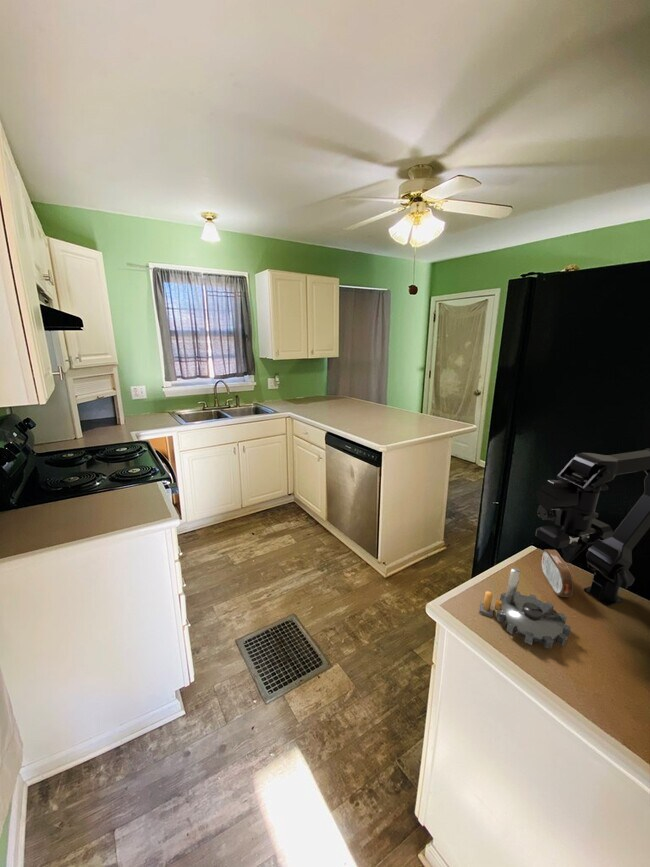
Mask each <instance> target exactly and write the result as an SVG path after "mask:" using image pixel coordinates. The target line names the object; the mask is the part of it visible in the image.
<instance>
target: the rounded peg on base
mask: <svg viewBox="0 0 650 867" xmlns="http://www.w3.org/2000/svg"><path fill="white" fill-rule="evenodd" d="M492 600H493V592H491V591H489V590H485V594H484V599H483V603H482V602H480V603H479V610H478V611H479V612H478V614H481V615H483V616H487V617H490V618H493V615H494V606H492Z"/></svg>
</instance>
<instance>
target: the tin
mask: <svg viewBox="0 0 650 867" xmlns="http://www.w3.org/2000/svg"><path fill="white" fill-rule="evenodd" d="M540 567H541V571H542V574H543V576H544V577H545V579H546V581H547V583H548V584H549V586H550V587H551V589H552V591H553V593H554V594H555V595H556V596H558V597H563V598H564V597H566V598H571V597H572V596H573V593H574V586H575V585H574V579H573V574H572V572H571V569H570V568H569V566H568V565H567V562H565V561H564V558H563V557H561V555H560V553H559V552H558V551H557V550H556V549H549V548H548V549H543V550H542V552H541V560H540Z"/></svg>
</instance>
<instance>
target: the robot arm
mask: <svg viewBox="0 0 650 867" xmlns="http://www.w3.org/2000/svg"><path fill="white" fill-rule="evenodd" d="M637 472H645V474H646V476H645V478H644V479H643V482H644V483H643V484H644V491H643V494H642V495H641V496H640V497H639V498H638V500H637V501H636V503H635V504H634V505H633V506H632V508H631V510H630V511H629V512H628V513H627V515H626V516H625V517H624V519H622V521H621V522H620V524H619V525H618V526H617V527H616V529H615V530H613V528H612V527H611V525H610V524H607V523H605V522H603V521H601V520H599V519H598V518H599V514H600V513H598V512H596V508H597V504H598V500H599V496H600V493H601V492H600V491H608V490H609V487H608V485H606V484H605V483H607V482H608V483H609V482H611V481H614V479H615V477H616V476H618V475H624V474H625V475H626V474H630V473H631V474H632V473H637ZM556 478H557V479H556V480H555V479H548V480H547V481H546V484H541V485H540V487H539V488H538V489H537V491H536V498H537V502H538V503H539V505H538V508H537V512H536V513H537V516H538V518H540V519H541V520H543V521H552V522H554V525H557V526H558V527H559V526H560V527H561V528H557V527H556V526H554V525H552V524H550V525H545V526H544V525H543V526H539V527H537V528H536V530H535V537H536V538H538V539H540V540H541V541H543V542H544V543H546V544H547V545H549V546H550V547H552V548H554V549H557V550H559V549H561V552H562V559H563V561H564V562H565V563H566V564H569V563H572V561H574V560H575V559H576V558H577V557H578V556H579V555H580V554H581V553H583V552H584V551H585V550H587V551H586V555H585V558H586V565H587V566H586V567H587V568H588V569H590V570H592V571H593V572H594V574H593V578H592V581H591V584H590V586H588V587H584V588H583V591H584V592H585V593H587V594H588V595H589V596H591V597H593V598H594V599H596V600H597V601H598V602H600V603H601V604H602V605H605V606H606V607H610V606H614V605H616V604H617V605H618V604H619V603H623V602H624V601H625V599H624V598H622V597H621V596H619V594H620V591H621V589H622V588H623V589H625V590H626V589H627V590H628V589H629V588H628V587H631V586H632V585H633V584H634V582H635V580H636V578H635V577H634V575H633V574H632V573H631V571H630V570H629V569H630V568H631V565H633V555H632V554H633V553H632V552H633V549H634V548H635V547H636V546H637V544H638V543H639V542H640V541H641V539H642V538H643V536H645V534H646V532H648V530H649V529H650V448H645V449H643V450H636V451H629V452H622V453H615V454H609V455H607V454H599V453H594V452H593V453H592V452H579V453H577V454H575V455H574V456H573V457H572V458H571V460H570V461H569V462H568V463H567V464H566V465H565V466H564V468H563V469H561V471H560V472H559V473H558V474H557V475H556ZM580 478H581V479H580ZM595 533H599V537H601V539H602V540H601V539H600V538H597V539H595V540H593V539H591V538H590V535H591V534H595Z"/></svg>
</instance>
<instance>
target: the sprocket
mask: <svg viewBox="0 0 650 867" xmlns="http://www.w3.org/2000/svg"><path fill="white" fill-rule="evenodd" d="M520 575H521V570H520V569H519V568H517V567H511V568H510V573H509V577H508V582H507V587H506V592H503V593H501V594H500V598H499V599H496V601H495V606H494V610H496V616H495V617H496V620H497V621H498V622H503V623H504V624H505V625H506V626H507V627H506V631H507V632H508V633H510V634H511V635H514V634H517V635H519V636H520V637H522V638H524V643H525V644H529V645H531V646H532V645H533V642H534V643H539V644H542V645H543V647H544V649H553V646H554V643H557V645H559V646H561V647H563V646H564V645H566V644H567V640H568V638H570V634H571V631H572V629H571V628H572V627H571V626H570V625H569V624H566V622H567V616H566V615H565V614H564V613H563V612H562V613H561V612H557V611H556V610H555V608H554V607H555V605H554V604H553V603H551V602H550V601H547V602H544V601H541V600H540V599H537V597H538V596H537V595H535V594H532V593H530V594H529V596H528V595H526V594H525V595H523V594H521V592H520V591H517V590H518V585H519V580H520Z"/></svg>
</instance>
